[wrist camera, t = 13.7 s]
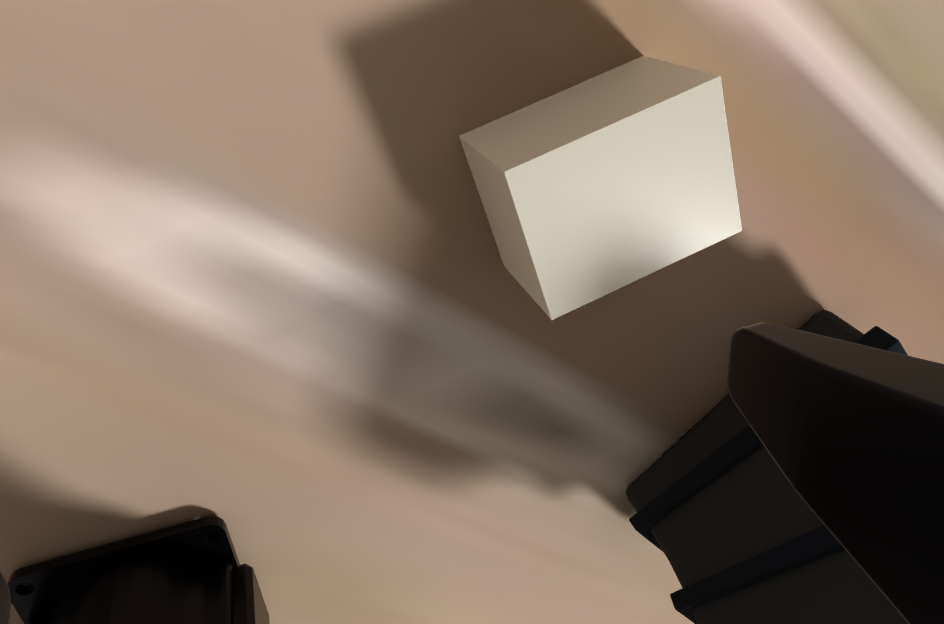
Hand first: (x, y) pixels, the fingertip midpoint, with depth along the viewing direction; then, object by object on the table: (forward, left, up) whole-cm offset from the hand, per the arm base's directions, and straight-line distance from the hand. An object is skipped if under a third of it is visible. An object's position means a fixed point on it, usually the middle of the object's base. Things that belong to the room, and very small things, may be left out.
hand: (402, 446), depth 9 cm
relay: (+8, -2, -13) cm, 16 cm away
